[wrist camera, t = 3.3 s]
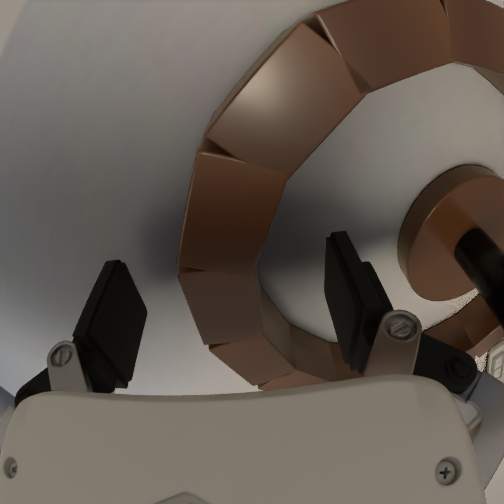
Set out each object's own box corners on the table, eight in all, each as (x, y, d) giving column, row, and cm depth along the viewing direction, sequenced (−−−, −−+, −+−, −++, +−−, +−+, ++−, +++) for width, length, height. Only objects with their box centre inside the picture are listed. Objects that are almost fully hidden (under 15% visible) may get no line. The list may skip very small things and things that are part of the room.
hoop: (140, 8, 7) (106, -6, 4) (566, 61, 6) (602, 75, 4) (237, 384, 19) (237, 421, 16) (492, 328, 18) (507, 354, 16)
